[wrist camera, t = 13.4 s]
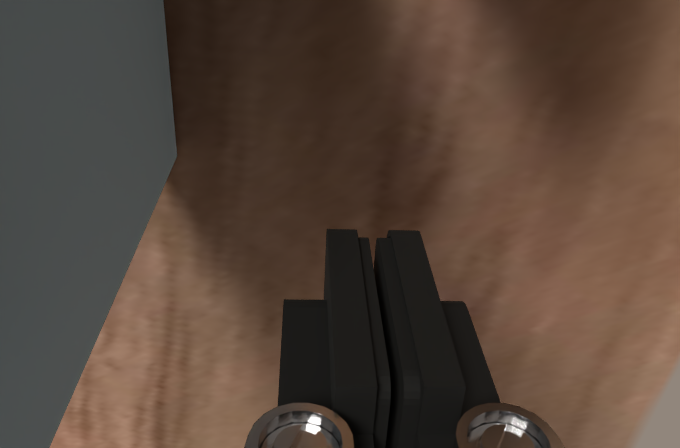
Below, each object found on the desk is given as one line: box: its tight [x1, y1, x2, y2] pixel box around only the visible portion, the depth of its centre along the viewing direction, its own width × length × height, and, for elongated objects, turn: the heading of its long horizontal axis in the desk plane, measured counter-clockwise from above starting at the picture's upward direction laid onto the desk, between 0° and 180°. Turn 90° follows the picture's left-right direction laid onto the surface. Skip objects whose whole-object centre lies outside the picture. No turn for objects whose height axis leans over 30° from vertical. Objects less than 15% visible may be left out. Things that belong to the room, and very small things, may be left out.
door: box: [0, 0, 177, 448], centre depth 15 cm, size 14×3×19 cm, turn 178°
